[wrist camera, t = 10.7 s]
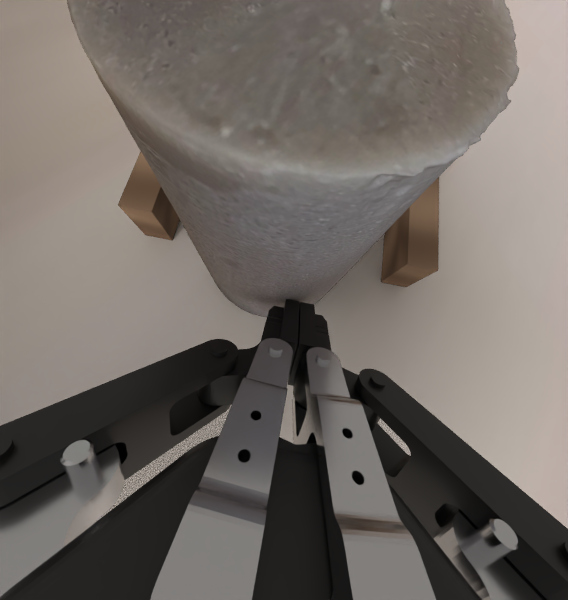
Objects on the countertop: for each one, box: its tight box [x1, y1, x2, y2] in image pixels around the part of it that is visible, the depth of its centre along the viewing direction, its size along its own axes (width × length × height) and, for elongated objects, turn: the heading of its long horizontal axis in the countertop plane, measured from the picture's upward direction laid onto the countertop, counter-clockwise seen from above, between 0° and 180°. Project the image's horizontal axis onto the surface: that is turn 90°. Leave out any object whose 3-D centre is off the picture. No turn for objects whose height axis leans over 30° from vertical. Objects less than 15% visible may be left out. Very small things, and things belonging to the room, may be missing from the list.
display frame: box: [118, 152, 439, 287], centre depth 19 cm, size 18×20×4 cm
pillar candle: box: [67, 0, 519, 317], centre depth 11 cm, size 10×10×15 cm
